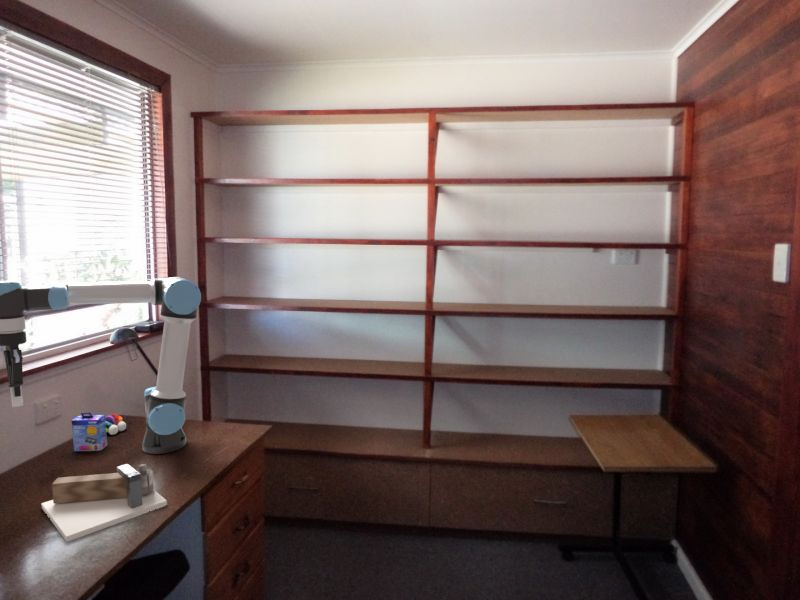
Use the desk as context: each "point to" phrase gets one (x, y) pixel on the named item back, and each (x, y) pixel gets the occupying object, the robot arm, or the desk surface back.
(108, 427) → the multicoloured rounded cluster
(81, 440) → the ink cartridge box
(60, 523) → the board
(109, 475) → the link
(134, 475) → the bracket
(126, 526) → the desk surface
